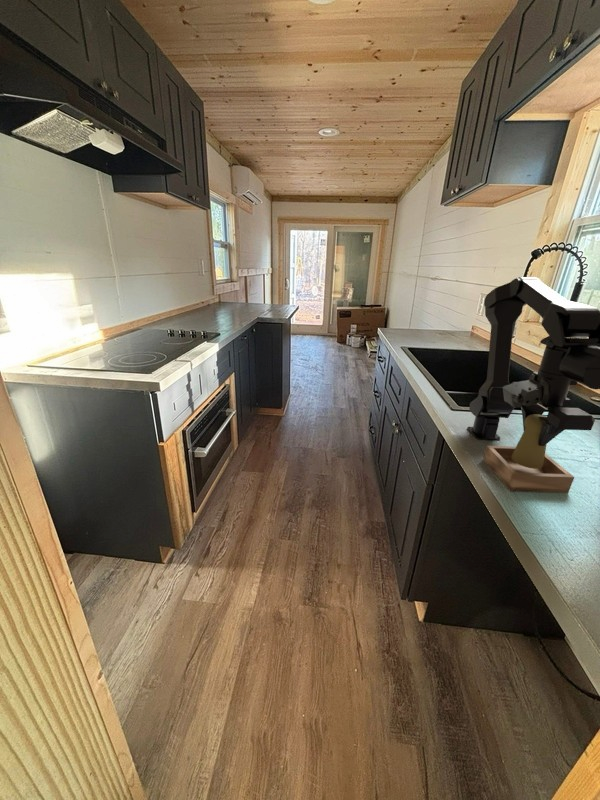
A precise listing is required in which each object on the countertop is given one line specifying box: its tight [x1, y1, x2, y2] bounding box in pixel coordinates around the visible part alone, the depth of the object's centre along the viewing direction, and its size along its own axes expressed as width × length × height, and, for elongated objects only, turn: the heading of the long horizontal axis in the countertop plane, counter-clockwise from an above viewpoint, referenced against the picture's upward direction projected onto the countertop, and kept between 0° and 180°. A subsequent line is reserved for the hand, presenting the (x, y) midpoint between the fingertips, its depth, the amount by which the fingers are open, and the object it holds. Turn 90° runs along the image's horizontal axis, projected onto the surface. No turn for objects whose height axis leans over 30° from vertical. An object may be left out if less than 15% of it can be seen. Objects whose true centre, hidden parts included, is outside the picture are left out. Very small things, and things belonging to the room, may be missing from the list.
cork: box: [511, 414, 548, 469], centre depth 71 cm, size 6×6×11 cm
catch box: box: [482, 445, 575, 494], centre depth 74 cm, size 12×12×4 cm
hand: (533, 439), depth 71 cm, fingers closed on cork, 5 cm apart
